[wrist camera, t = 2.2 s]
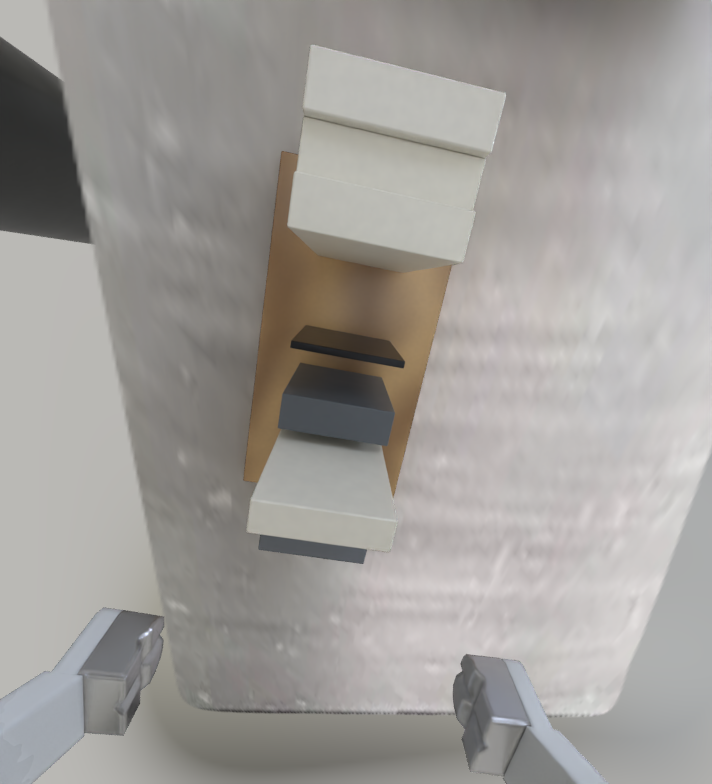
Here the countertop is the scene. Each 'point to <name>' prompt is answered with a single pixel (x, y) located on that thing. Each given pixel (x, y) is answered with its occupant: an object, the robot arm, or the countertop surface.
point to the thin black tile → (347, 346)
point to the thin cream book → (324, 493)
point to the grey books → (332, 431)
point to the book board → (338, 328)
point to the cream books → (389, 162)
